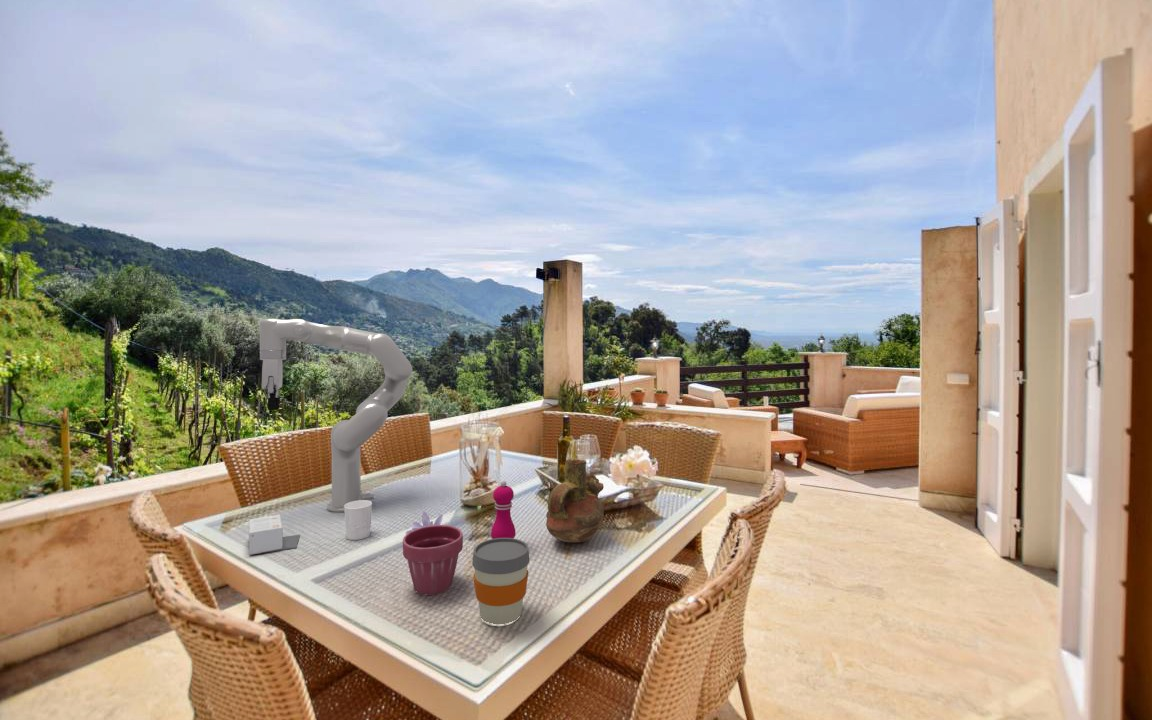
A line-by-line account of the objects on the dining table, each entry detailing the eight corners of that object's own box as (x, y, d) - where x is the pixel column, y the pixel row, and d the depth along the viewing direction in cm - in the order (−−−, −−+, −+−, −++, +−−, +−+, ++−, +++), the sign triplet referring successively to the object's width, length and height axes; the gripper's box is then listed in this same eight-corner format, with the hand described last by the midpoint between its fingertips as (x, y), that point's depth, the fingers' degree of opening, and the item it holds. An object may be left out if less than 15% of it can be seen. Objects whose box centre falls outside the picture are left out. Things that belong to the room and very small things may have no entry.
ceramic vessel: (621, 531, 156) (623, 454, 155) (575, 560, 135) (576, 471, 134) (578, 520, 166) (579, 447, 165) (528, 545, 145) (529, 462, 144)
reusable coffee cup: (488, 596, 115) (488, 534, 115) (537, 605, 112) (538, 541, 111) (461, 625, 103) (461, 556, 103) (515, 636, 100) (515, 565, 99)
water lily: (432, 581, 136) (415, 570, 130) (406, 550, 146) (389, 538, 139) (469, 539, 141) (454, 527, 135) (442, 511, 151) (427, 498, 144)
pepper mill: (519, 545, 145) (520, 478, 144) (508, 554, 138) (508, 485, 137) (498, 541, 147) (498, 476, 147) (486, 551, 140) (486, 482, 140)
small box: (249, 539, 146) (248, 555, 135) (249, 519, 146) (248, 532, 135) (280, 534, 150) (282, 549, 139) (280, 514, 150) (282, 527, 139)
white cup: (377, 533, 152) (377, 502, 152) (356, 543, 145) (356, 510, 145) (359, 529, 156) (359, 498, 155) (338, 538, 149) (338, 506, 148)
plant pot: (423, 608, 110) (423, 552, 110) (391, 587, 119) (391, 536, 119) (474, 584, 121) (474, 534, 120) (441, 567, 130) (441, 520, 130)
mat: (300, 535, 150) (300, 534, 150) (296, 548, 141) (296, 547, 141) (258, 541, 146) (258, 540, 146) (251, 554, 136) (251, 553, 136)
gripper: (264, 354, 169) (264, 407, 169) (255, 356, 155) (256, 413, 156) (288, 354, 172) (289, 406, 172) (282, 356, 158) (283, 412, 159)
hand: (273, 409), depth 164 cm, fingers closed
